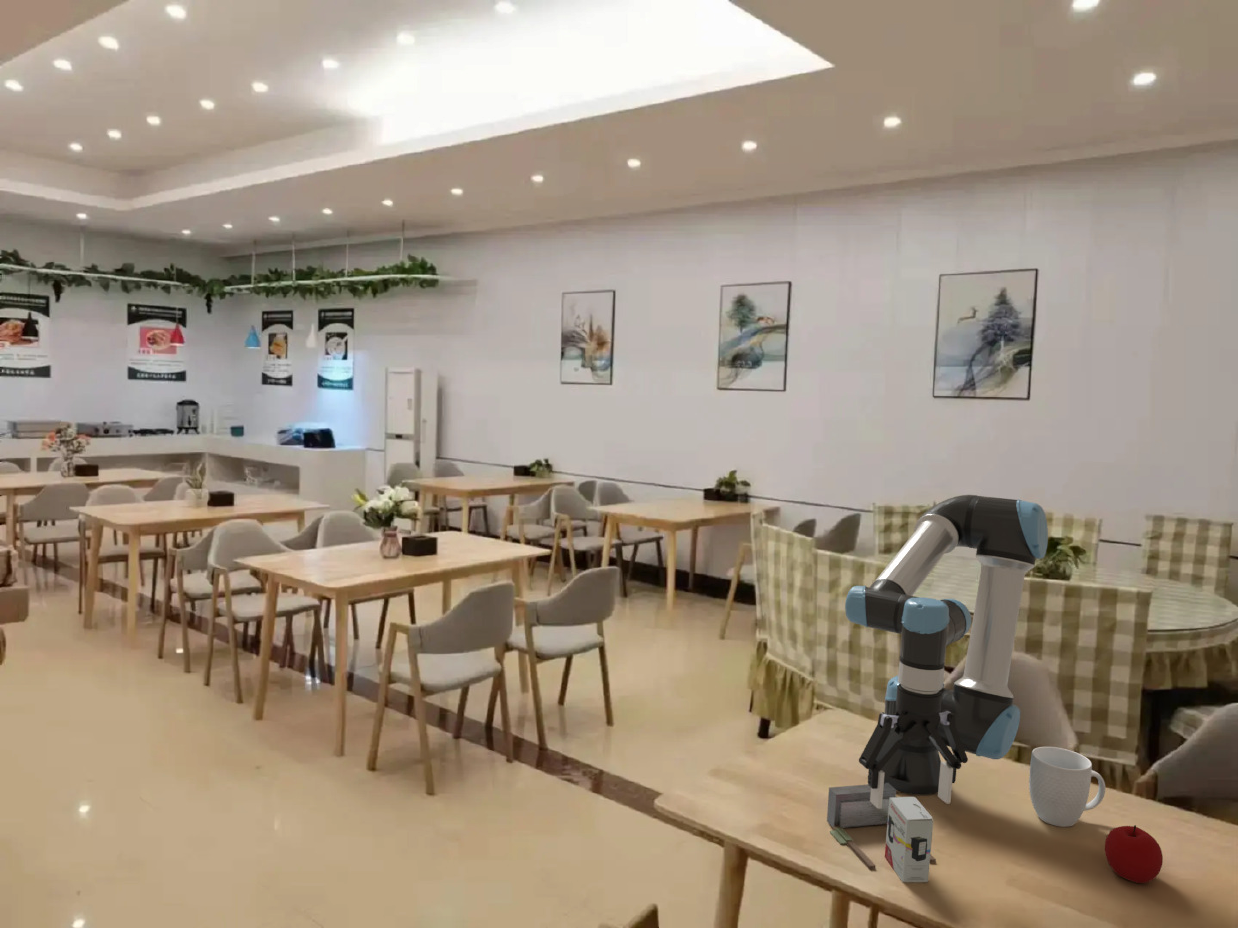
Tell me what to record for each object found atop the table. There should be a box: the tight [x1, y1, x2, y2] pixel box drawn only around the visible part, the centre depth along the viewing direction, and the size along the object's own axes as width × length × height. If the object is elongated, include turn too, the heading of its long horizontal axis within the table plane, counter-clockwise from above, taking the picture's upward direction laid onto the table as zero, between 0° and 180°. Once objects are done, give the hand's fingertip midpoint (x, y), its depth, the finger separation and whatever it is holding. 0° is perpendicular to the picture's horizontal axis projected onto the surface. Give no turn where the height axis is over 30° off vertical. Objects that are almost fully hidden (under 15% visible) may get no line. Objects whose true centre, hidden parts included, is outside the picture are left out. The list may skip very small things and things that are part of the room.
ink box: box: [884, 796, 934, 883], centre depth 156 cm, size 9×5×12 cm, turn 5°
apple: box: [1104, 825, 1164, 884], centre depth 157 cm, size 9×9×10 cm
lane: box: [829, 826, 937, 870], centre depth 165 cm, size 16×14×1 cm
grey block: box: [826, 783, 897, 829], centre depth 172 cm, size 13×4×7 cm, turn 103°
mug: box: [1028, 746, 1106, 828], centre depth 177 cm, size 15×11×13 cm
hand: (910, 802), depth 156 cm, fingers open, 13 cm apart
